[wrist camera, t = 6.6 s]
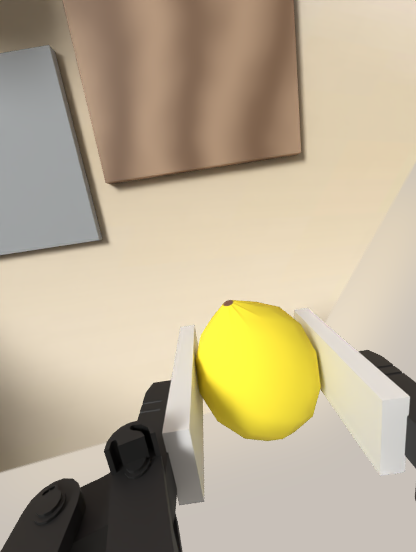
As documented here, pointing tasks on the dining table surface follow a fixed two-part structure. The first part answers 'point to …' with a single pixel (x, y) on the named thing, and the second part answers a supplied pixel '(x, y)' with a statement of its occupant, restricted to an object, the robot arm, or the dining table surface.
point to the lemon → (257, 370)
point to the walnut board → (187, 82)
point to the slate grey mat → (40, 158)
